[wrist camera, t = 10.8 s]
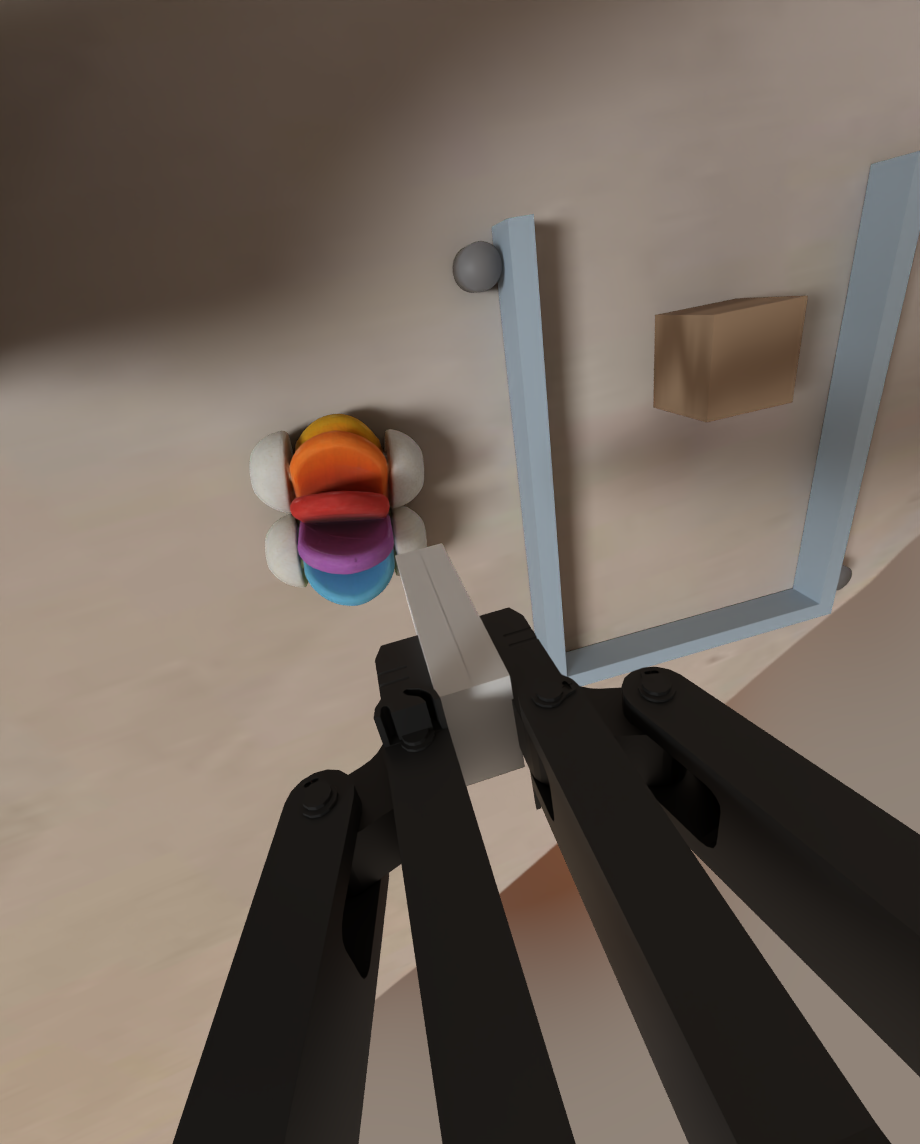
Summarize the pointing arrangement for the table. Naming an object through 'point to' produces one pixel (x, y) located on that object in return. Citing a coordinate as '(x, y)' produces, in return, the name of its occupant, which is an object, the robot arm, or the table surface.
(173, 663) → the table surface
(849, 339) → the cart frame
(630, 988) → the robot arm
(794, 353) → the walnut block
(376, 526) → the rainbow segmented toy
